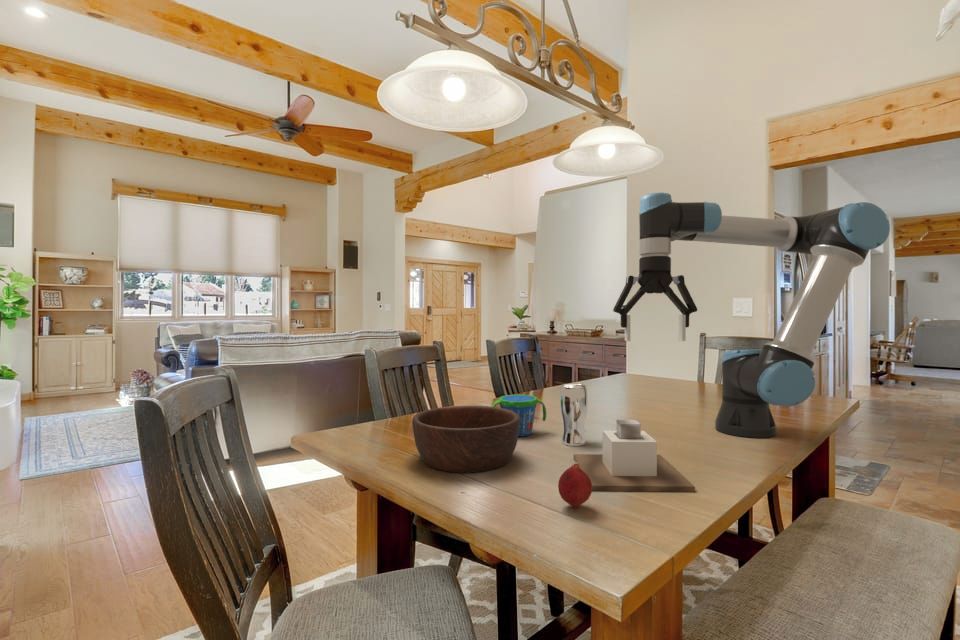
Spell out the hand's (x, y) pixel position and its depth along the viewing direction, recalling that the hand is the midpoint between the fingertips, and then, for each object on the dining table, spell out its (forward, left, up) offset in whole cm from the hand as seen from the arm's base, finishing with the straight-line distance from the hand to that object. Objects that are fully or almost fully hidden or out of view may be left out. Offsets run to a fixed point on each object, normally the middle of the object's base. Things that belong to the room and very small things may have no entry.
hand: (654, 340), depth 123 cm
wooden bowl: (+47, +12, -27) cm, 56 cm away
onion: (+26, +39, -27) cm, 54 cm away
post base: (+12, +21, -27) cm, 36 cm away
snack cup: (+34, -11, -27) cm, 45 cm away
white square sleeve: (+12, +21, -26) cm, 35 cm away
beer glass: (+20, -2, -27) cm, 34 cm away
